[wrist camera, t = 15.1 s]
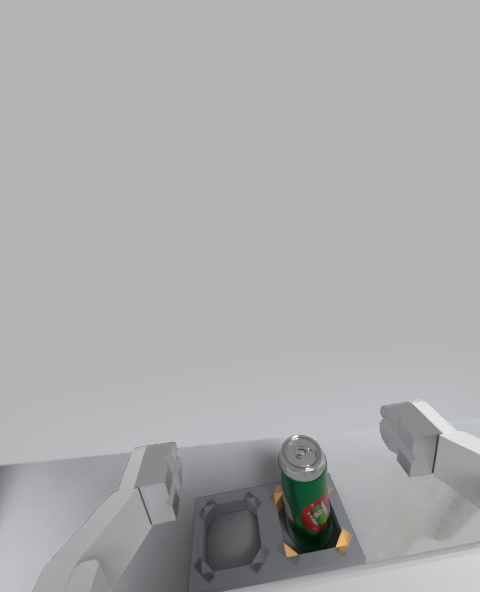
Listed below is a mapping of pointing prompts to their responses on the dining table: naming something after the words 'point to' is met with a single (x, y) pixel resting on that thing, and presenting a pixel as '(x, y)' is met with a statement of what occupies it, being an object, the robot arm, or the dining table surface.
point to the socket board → (266, 541)
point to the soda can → (305, 492)
